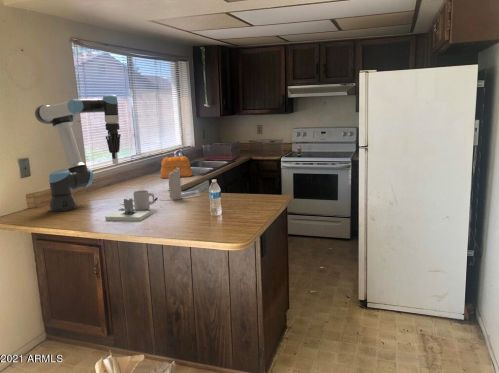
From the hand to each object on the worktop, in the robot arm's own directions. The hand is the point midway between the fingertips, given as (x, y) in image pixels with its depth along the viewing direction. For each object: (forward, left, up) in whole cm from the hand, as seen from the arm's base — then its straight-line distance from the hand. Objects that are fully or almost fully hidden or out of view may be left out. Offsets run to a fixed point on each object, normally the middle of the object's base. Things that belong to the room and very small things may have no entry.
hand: (115, 163), depth 246 cm
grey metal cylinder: (+13, -14, -28) cm, 34 cm away
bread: (-7, +114, -28) cm, 118 cm away
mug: (+15, +2, -28) cm, 32 cm away
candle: (+20, +30, -28) cm, 45 cm away
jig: (+13, -15, -27) cm, 34 cm away
